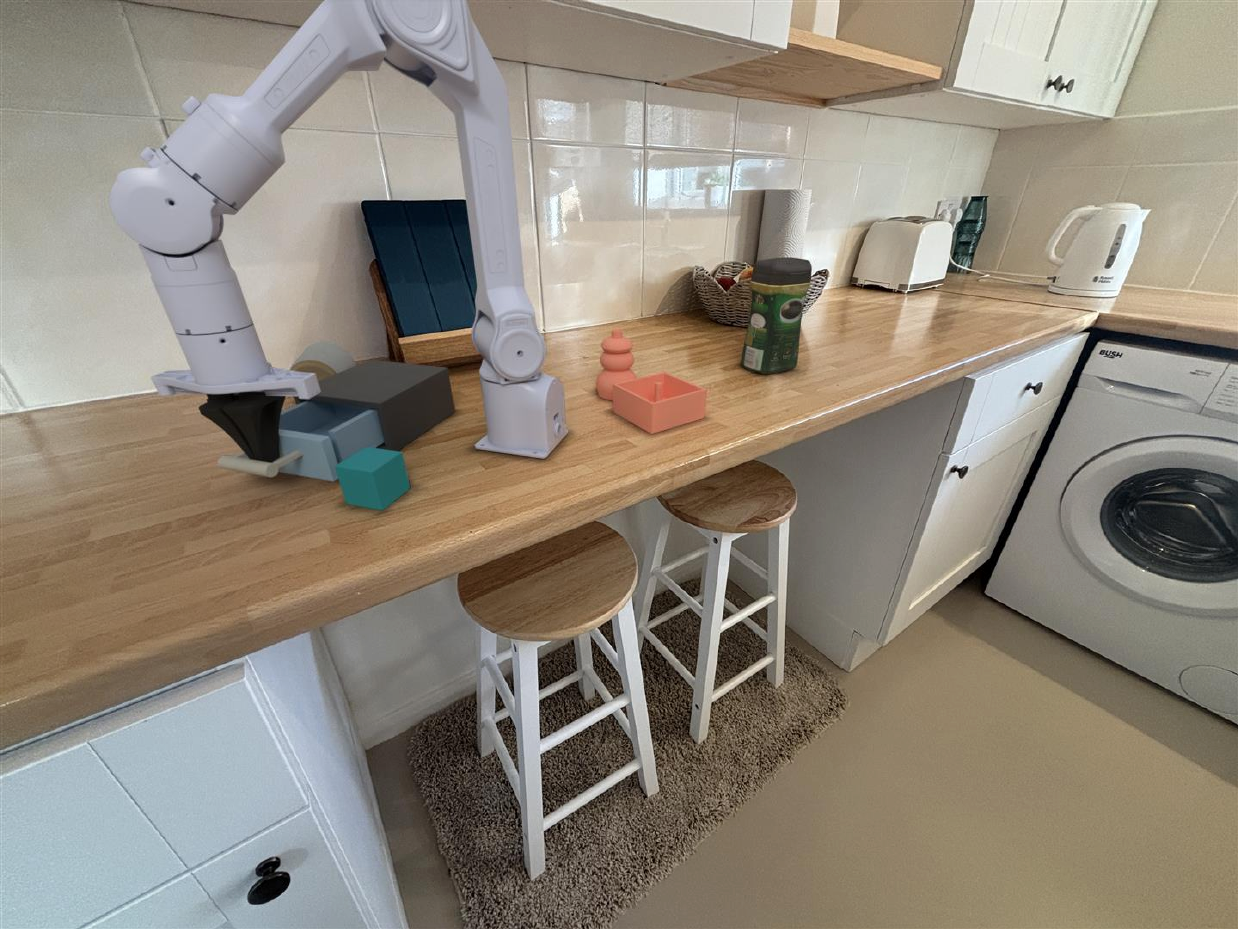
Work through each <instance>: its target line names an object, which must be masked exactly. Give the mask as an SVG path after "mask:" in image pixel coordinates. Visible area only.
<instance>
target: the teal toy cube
mask: <svg viewBox="0 0 1238 929" xmlns="http://www.w3.org/2000/svg"><path fill="white" fill-rule="evenodd" d="M335 470H336V473H337V476H338V479H337V480H338V482H339V485H340V488H341V491H342V494H343V498H344V501H345V504H346V505H352V506H355V507H360V508H367V509H371V510H378V511H384V510H386V509H387V508H388V507H389V506H391V505H392V504H393V503H394V502H395V501H396V500H398V499H399V498H401V497H402V496H403V495H405V493H406V492H408V491H409V490H411V484H410V481H409V476H408V472H407V467H406V463H405V458H404V454H403V452H402V451H399V450H398V451H391V450H385V449H378V448H372V447H365V448H363V449H362V450H360V451H358V452H357V453H355V454H353V455H352V456H350V457H349V458H347V459H345V460H344V461H342V462H340V463H339V464H337V465H336V466H335Z"/></svg>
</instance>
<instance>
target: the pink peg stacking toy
mask: <svg viewBox="0 0 1238 929" xmlns="http://www.w3.org/2000/svg"><path fill="white" fill-rule="evenodd" d="M623 332H624V331H623V329H612V330H611V336H607V337H605V338H604V339H603V340H602V341H601V342H600V348H601V349H602V352H601V354H600V356H599V363H600V365H601V367H602V368H603V369H601V370H600V371H599V373H598V375H597V376H596V380H595V388H596V391H597V395H598V396H599V397H600V398H601V399H604V400H607V401H612V413H614V414H616V415H617V416H619V417H620V418H623V419H625V420H626V421H628V422H630V423H631V424H633V425H635V426H637V428H640V429H642V430H644V431H645V432H647V433H649V434H650V435H653V434H657V433H660V432H663V431H666V430H671V429H672V428H673V429H674V428H677V427H679V426H682V425H686V424H689V423H692V422H695V421H700V420H702V419H705V416H706V407H707V406H706V405H707V395H708V388H707V389H706V388H704V387H702V386H700V385H697V384H695V383H693V382H690V381H688V380H685V379H682V378H680V377H678V376H675V375H673V374H671V373H668V372H666V371H662V372H659V373H655V374H651V375H646V376H641V377H637V374H636V373H635V372H634V371H633V370H632V369H631V368H632V367H633V365H634V363H635V356H634V354H633V352H632V349H633V348H634V343H633V341H632V339H630V338H628V337H626V336H623Z"/></svg>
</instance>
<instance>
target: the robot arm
mask: <svg viewBox="0 0 1238 929" xmlns="http://www.w3.org/2000/svg"><path fill="white" fill-rule="evenodd" d="M383 62H384V63H385V65H387V66H388V67H390V68H391V69H393V70H394V71H396V72H398V73H400V74H402V75H403V76H405V77H407V78H408V79H409V78H410V79H411V80H414V81H415V82H417V83H419V84H421V85H422V86H425V87H426V88H427V89H428V91H430V92H431V94H433V95H434V96H435V97H436V98H437V99H438V100H439V101H440V102H441V103H442V104H443V105H444V106H445V107H447V108H448V109H449V110H450V111H451V113H452V114H453V116H454V121H455V128H456V136H457V145H458V152H459V159H460V166H461V172H462V173H461V175H462V181H463V189H464V197H465V204H466V211H467V220H468V226H469V233H470V241H471V249H472V255H473V265H474V271H475V272H474V273H475V279H476V293H475V299H474V305H475V317H474V321H473V323H472V327H471V335H470V336H471V341H472V344H473V347H474V348H475V350H476V351H477V352H478V353H479V354H480V355H481V356H482V357H483V360H482V363H481V366H480V368H479V369H478V374H479V379H480V380H479V382H480V388H481V395H482V402H483V403H482V404H483V410H484V417H485V426H486V432H487V434H486V435H484V436H483V437H482V438H481V439H480V440H479V441H477V442H476V443H475V444H474V448H475V450H480V451H488V452H495V453H502V454H508V455H515V456H521V457H527V458H528V457H529V458H536V459H546V458H547V457H549V455H550V454H551V453H553V452H552V451H554V449H555V448H556V447H557V446H558V445H559V444H560V443H561V441H562V440H563V439H564V438H565V437H566V436H567V434H569V429H568V428H567V420H566V419H567V418H566V402H565V400H566V398H565V389H564V385H563V382H562V380H561V378H559V377H556V376H551V375H549V374H547V373H545V372H543V370H542V368H543V366H544V364H545V362H546V357H547V345H546V342H545V338H544V337H543V335H542V334H541V331H540V330H539V328H538V326H537V320H536V311H535V309H534V307H533V304H532V302H531V300H530V296H529V295H528V293H527V290H526V287H525V278H524V275H525V274H524V265H523V264H524V263H523V256H522V255H523V254H522V253H523V252H522V242H521V232H520V222H519V221H520V220H519V210H518V208H519V207H518V199H517V197H518V196H517V187H516V176H515V174H516V173H515V165H514V164H515V163H514V152H513V141H512V130H511V120H510V119H511V118H510V117H511V116H510V109H509V95H508V90H507V85H506V82H505V79H504V77H503V75H502V73H501V72H500V70H499V68H498V66H497V63H496V62H495V60H494V58H493V56H492V54H491V52H490V51H489V48H488V46H487V44H486V43H485V41H484V39H483V36H482V35H481V33H480V31H479V29H478V28H477V25H476V24H475V22H474V20H473V17H472V14H471V11H470V8H469V4H468V0H323V1H322V2H321V3H320V4H319V5H318V7H317V8H316V9H315V10H314V11H313V12H312V14H310V15H309V17H308V18H307V20H305V22H304V23H303V24H302V25H301V27H300V28H299V29H298V30H297V31H296V32H295V34H294V35H293V36H292V37H291V38H290V39H289V40H288V41H287V42H286V44H285V45H284V47H282V49H281V50H280V51H279V52H278V53H277V55H275V57H274V58H272V60H271V61H270V63H269V64H268V65H267V66H266V67H265V68H264V70H263V71H262V72H261V73H260V74H259V75H258V77H257V78H256V79H255V80H254V81H253V83H252V84H251V85H250V86H249V87H248V89H246V91H245V92H244V93H243V94H242V95H241V96H240V95H239V96H234V95H228V94H222V93H216V92H211V93H209V94H208V95H207V96H206V97H205V98H204V100H203V101H200V100H199V98H197V97H195V96H192V95H191V96H189V97H188V98H187V100H185V101H184V103H183V104H181V107H180V108H181V110H182V111H183V112H184V113H186V114H187V115H188V116H187V118H185V120H183V122H182V123H181V124H180V125H179V126H178V127H177V128H176V129H175V130H174V132H172V134H170V136H168V138H167V139H166V140H165V141H164V142H163V143H162V144H161V145H160V146H159V147H158V148H157V149H154V148H153V147H152V146H151V147H150V146H146V147H145V148H144V149H143V150H142V151H141V152H140V154H139V157H140V158H141V159H142V160H143V161H145V163H146V164H147V165H148V166H149V167H143V166H141V167H131V168H127V169H124V170H122V171H120V172H118V173H117V176H116V181H115V183H114V184H113V185H112V187H111V190H110V193H109V198H108V199H109V207H110V212H111V214H112V216H113V218H114V221H115V222H116V223H117V226H118V227H120V228H121V230H122V231H123V232H124V233H125V234H126V235H127V236H128V237H129V238H131V239H132V240H133V241H135V242H136V243H137V244H138V247H139V250H140V253H141V255H142V258H143V259H144V262H145V264H146V266H147V268H148V271H149V273H150V280H151V282H152V284H153V286H154V288H155V291H156V294H157V295H158V298H159V300H160V302H161V306H162V307H163V309H164V311H165V314H166V316H167V318H168V321H169V323H170V326H171V328H172V330H173V332H174V334H175V337H176V339H177V341H178V344H179V346H180V349H181V351H182V353H183V355H184V357H185V360H186V362H187V364H188V366H189V369H168V370H165V371H162V372H159V373H157V374H154V375H151V376H150V379H151V381H152V383H153V385H154V387H155V389H156V391H157V393H158V395H159V397H172V396H174V395H206V397H207V398H206V402H205V403H202V404H201V405H199V406H198V410H199V413H200V415H201V416H203V417H204V418H206V419H208V421H210V422H212V423H213V424H215V425H216V426H218V428H220V429H221V430H222V431H223V432H225V434H227V435H228V436H229V437H230V438H231V439H232V440H233V442H235V443H236V445H237V446H238V447H239V448H240V449H241V450H242V451H244V453H245V454H246V455H247V456H248V458H249V459H252V460H258V461H263V462H269V463H272V462H274V461H275V460H277V459H278V458H279V457H280V451H279V422H280V415H281V412H282V411H283V407H284V403H285V400H286V397H293V396H298V397H299V399H310V398H312V397H314V396H315V395H317V394H318V393H320V392H321V390H320V387H319V383H318V380H317V377H316V374H315V373H304V372H296V371H291V370H290V369H286V368H285V369H284V368H279V367H274V366H272V363H271V362H270V361H268V360H267V358H266V355H265V352H264V350H263V346H262V343H261V340H260V337H259V335H258V332H257V329H256V326H255V324H254V321H253V319H252V316H251V312H250V310H249V307H248V305H247V301H246V299H245V296H244V293H243V290H242V286H241V284H240V281H239V279H238V275H237V273H236V271H235V269H234V268H233V267H232V265H231V263H230V260H229V257H228V254H227V251H226V248H225V246H224V243H223V240H222V239H220V238H221V236H222V234H223V231H224V226H225V218H224V215H229V216H230V215H231V216H235V215H237V214H238V213H239V211H240V210H241V209H242V208H243V207H244V206H245V205H246V204H247V203H248V202H249V201H250V200H251V199H252V197H253V196H254V195H255V194H256V193H257V192H258V191H259V190H260V189H261V188H262V187H263V186H264V185H265V184H266V183H267V182H268V180H270V179H271V177H273V176H274V175H275V174H276V173H277V171H278V170H279V169H280V168H282V166H284V164H285V163H286V155H285V149H284V146H283V140H282V136H283V134H284V133H285V132H286V131H287V130H288V129H290V127H292V125H293V124H295V122H296V121H298V119H300V117H302V116H303V115H304V113H306V112H307V111H308V110H309V109H310V108H311V107H312V106H313V105H314V104H315V103H316V102H317V101H318V100H319V99H320V98H322V97H323V95H325V93H327V91H328V90H330V89H331V88H332V87H333V86H334V85H335V83H337V82H338V81H339V80H340V79H341V78H342V77H343V76H344V75H345V74H346V73H348V72H378V71H380V68H381V66H382V64H383Z"/></svg>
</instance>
